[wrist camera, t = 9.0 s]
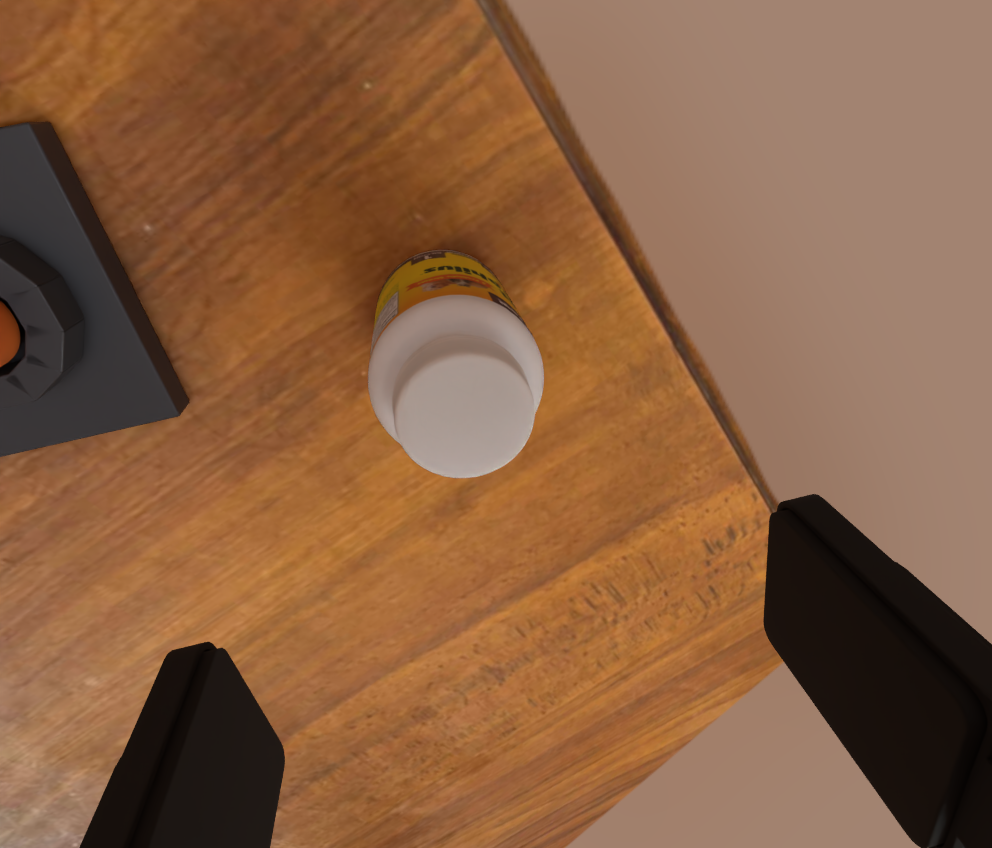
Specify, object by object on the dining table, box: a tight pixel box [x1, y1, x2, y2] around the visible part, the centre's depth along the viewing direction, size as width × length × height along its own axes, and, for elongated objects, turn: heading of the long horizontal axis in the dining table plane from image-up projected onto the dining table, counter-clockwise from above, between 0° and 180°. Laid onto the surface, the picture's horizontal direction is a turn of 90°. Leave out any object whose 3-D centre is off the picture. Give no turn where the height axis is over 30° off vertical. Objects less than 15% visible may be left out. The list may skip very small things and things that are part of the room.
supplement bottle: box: [368, 250, 544, 478], centre depth 21 cm, size 6×6×10 cm
